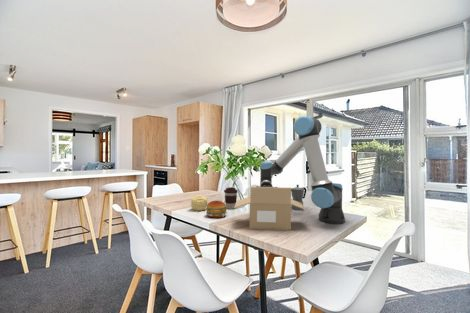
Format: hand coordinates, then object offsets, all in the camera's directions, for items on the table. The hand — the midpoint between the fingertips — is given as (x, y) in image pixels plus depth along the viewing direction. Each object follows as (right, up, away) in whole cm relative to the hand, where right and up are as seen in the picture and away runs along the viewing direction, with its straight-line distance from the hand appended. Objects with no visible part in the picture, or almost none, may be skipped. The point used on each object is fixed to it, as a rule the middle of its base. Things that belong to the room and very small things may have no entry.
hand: (267, 193), depth 126 cm
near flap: (+1, -1, 0) cm, 2 cm away
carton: (+3, -19, +14) cm, 24 cm away
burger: (-30, -19, +28) cm, 45 cm away
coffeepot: (+30, -19, +49) cm, 61 cm away
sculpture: (-43, -19, +44) cm, 64 cm away
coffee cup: (-21, -19, +50) cm, 57 cm away
